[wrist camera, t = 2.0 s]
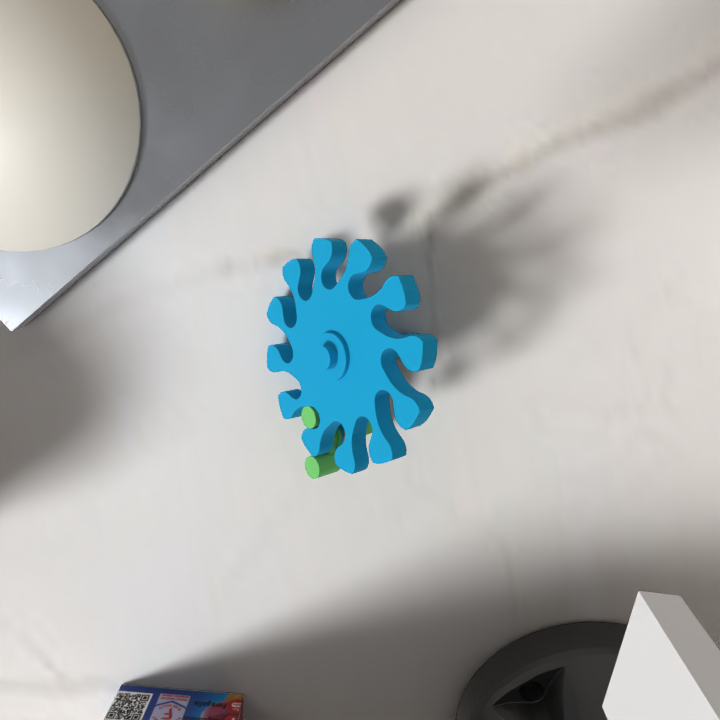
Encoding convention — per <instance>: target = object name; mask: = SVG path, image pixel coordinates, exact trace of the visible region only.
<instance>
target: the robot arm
mask: <svg viewBox="0 0 720 720" xmlns="http://www.w3.org/2000/svg"><path fill="white" fill-rule="evenodd" d="M456 720H720V650H719V649H718V647H717V646H716V645H715V643H714V642H713V640H712V639H711V638H710V636H709V635H708V633H707V632H706V631H705V629H704V628H703V626H702V625H701V624H700V622H699V621H698V620H697V618H696V617H695V615H694V614H693V613H692V611H691V610H690V608H689V607H688V606H687V604H686V603H685V602H684V600H683V599H682V597H681V596H680V595H671V594H662V593H653V592H645V591H638V594H637V597H636V600H635V603H634V607H633V610H632V613H631V616H630V619H629V623H628V626H625V625H620V624H613V623H600V622H588V623H574V624H567V625H561V626H557V627H552V628H548V629H545V630H542V631H539V632H536V633H533V634H531V635H528V636H526V637H524V638H521V639H519V640H517V641H515V642H514V643H512V644H510V645H508V646H507V647H505V648H504V649H502V650H501V651H499V652H498V653H497V654H495V655H494V656H493V657H492V658H490V659H489V660H488V661H487V662H486V663H485V664H484V665H483V666H482V667H481V668H480V669H479V670H478V672H477V673H476V674H475V675H474V677H473V678H472V679H471V681H470V682H469V684H468V686H467V687H466V689H465V691H464V693H463V695H462V698H461V701H460V704H459V707H458V712H457V718H456Z"/></svg>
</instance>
